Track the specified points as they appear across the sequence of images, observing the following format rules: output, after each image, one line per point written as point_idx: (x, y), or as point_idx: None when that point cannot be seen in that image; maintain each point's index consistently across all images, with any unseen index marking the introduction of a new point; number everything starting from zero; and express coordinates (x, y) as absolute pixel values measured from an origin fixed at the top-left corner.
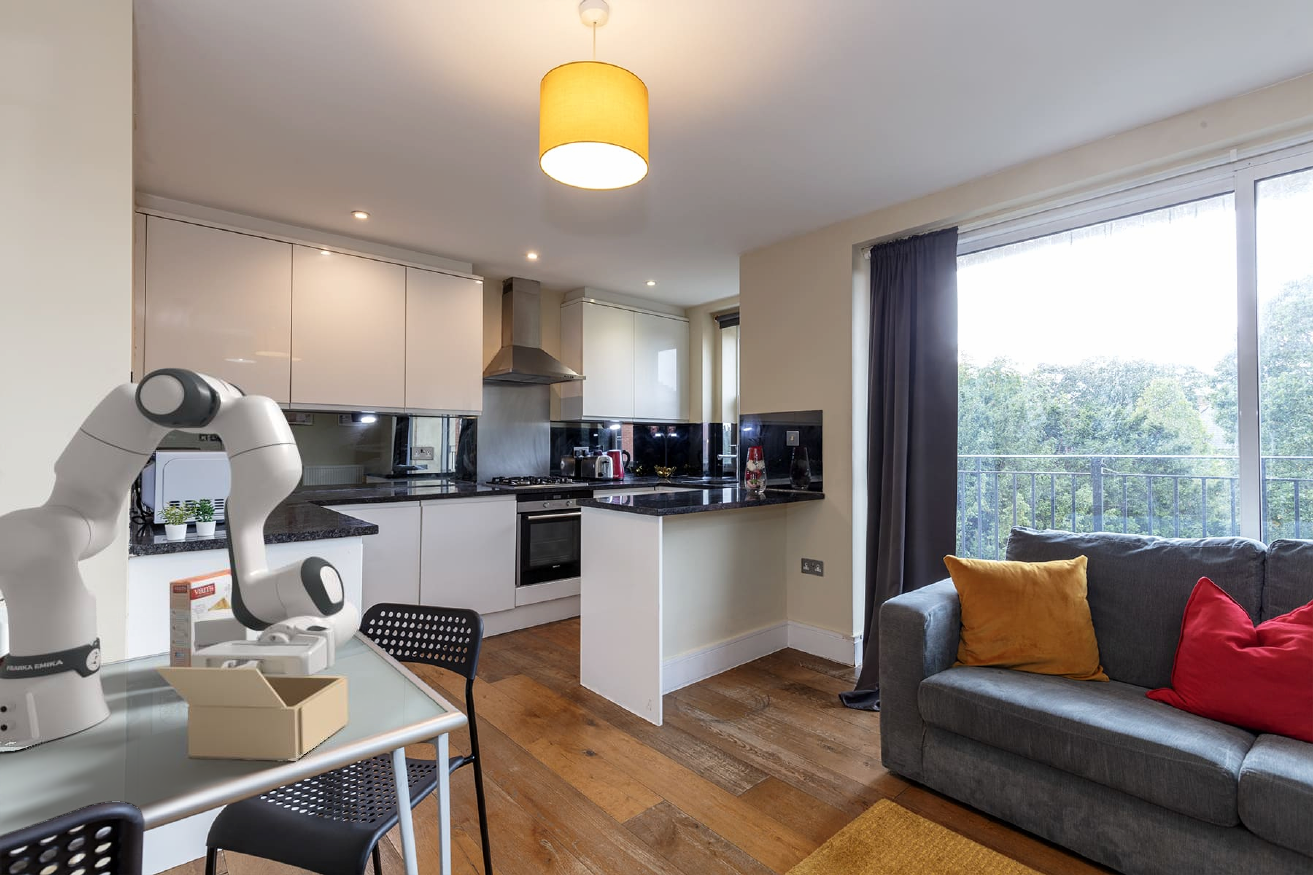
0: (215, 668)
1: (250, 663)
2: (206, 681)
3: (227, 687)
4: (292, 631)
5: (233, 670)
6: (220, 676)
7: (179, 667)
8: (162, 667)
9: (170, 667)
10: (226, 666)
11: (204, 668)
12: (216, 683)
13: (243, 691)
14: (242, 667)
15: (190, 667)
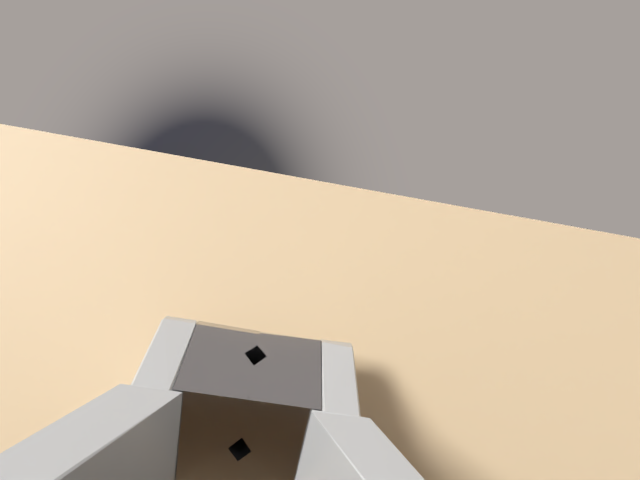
0: (203, 162)
1: (5, 460)
2: None
3: None
4: None
5: (49, 149)
6: (190, 255)
7: (504, 216)
8: (633, 241)
9: (570, 227)
10: (331, 444)
11: (295, 179)
12: None
13: None
14: (94, 404)
15: (416, 200)
